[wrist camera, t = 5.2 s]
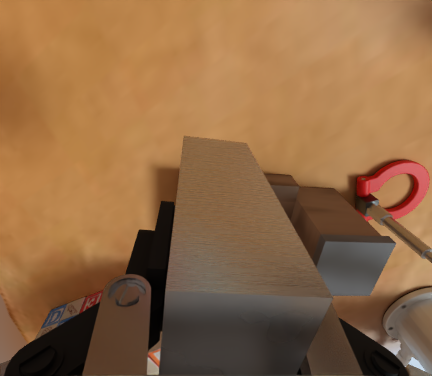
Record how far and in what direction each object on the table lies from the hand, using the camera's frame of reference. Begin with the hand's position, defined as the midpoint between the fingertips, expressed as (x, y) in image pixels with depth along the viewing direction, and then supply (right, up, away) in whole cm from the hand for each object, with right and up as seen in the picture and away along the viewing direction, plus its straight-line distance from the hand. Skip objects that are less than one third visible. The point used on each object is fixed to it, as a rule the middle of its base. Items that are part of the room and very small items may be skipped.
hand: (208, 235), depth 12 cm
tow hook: (+23, +2, +23) cm, 32 cm away
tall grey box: (0, +1, +2) cm, 3 cm away
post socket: (+6, 0, +22) cm, 23 cm away
